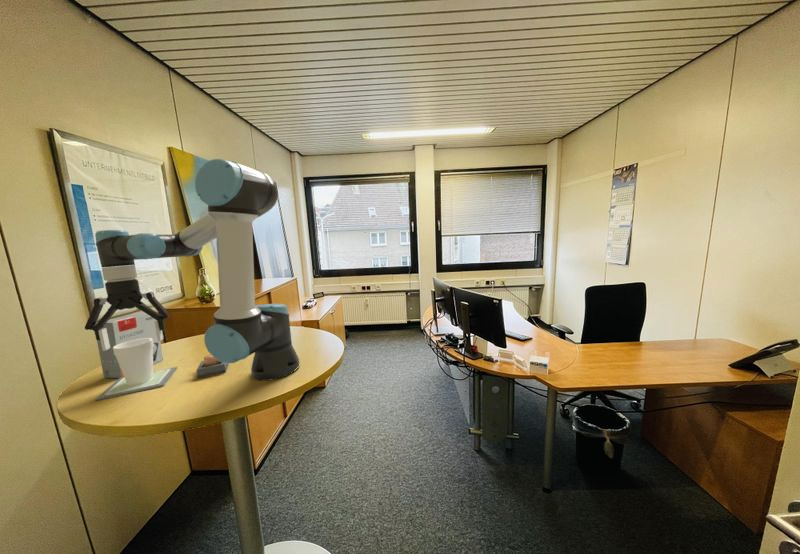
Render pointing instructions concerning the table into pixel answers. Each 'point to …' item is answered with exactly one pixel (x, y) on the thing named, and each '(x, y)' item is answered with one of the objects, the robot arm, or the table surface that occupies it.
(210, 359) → the button
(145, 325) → the hard drive box
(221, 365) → the button housing
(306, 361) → the table surface
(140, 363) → the foam cup
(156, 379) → the picture board
